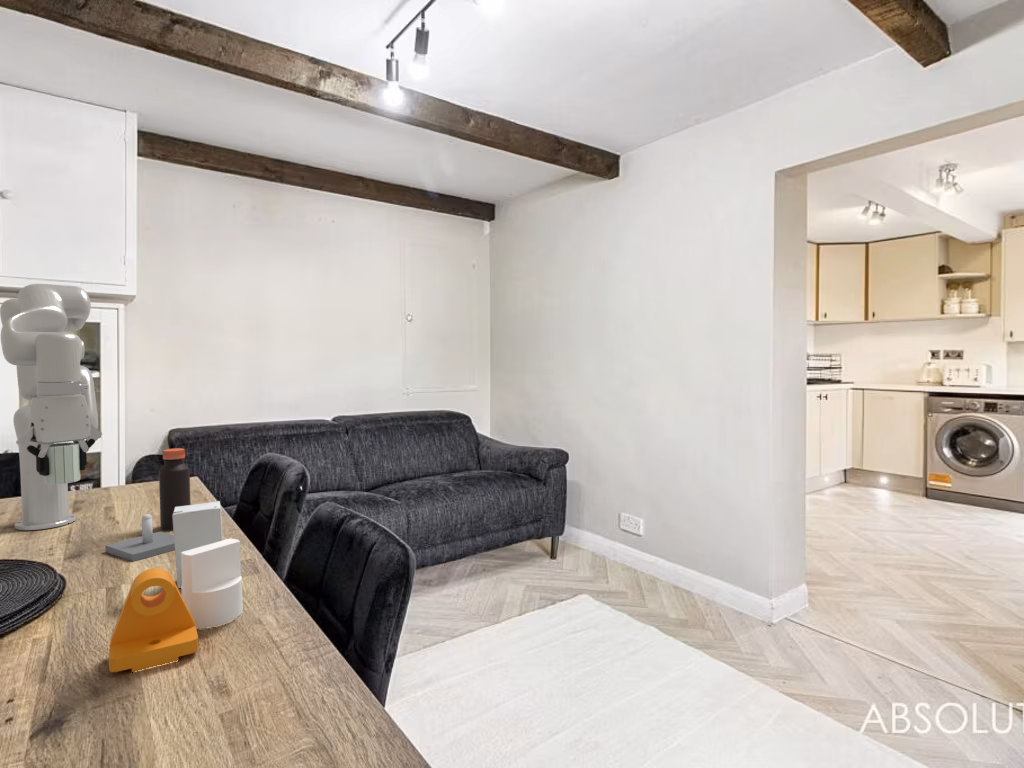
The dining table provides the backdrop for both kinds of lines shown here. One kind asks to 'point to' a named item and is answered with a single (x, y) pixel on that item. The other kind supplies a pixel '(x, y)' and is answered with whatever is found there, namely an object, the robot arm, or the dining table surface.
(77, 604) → the dining table surface
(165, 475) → the bottle
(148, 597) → the bracket
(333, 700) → the dining table surface
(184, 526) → the skincare box
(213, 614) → the cylinder with rectangular tab
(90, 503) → the dining table surface
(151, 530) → the roll stand
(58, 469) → the sage tube
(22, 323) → the robot arm
